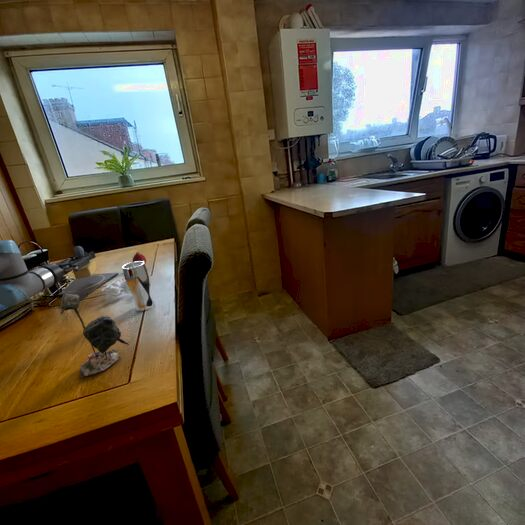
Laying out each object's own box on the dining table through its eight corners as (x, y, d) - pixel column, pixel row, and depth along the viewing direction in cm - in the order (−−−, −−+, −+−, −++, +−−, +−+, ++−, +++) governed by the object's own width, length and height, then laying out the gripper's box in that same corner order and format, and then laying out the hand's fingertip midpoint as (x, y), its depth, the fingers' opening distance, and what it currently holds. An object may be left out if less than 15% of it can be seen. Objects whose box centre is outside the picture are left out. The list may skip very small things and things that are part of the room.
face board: (42, 297, 110) (41, 295, 110) (78, 276, 129) (78, 274, 128) (88, 294, 108) (87, 292, 107) (118, 274, 126) (117, 272, 126)
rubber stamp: (82, 271, 120) (72, 244, 116) (97, 268, 121) (88, 242, 117) (75, 279, 111) (64, 250, 107) (91, 276, 112) (81, 247, 108)
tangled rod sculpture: (119, 282, 120) (115, 273, 118) (152, 274, 120) (149, 266, 119) (98, 302, 101) (93, 292, 100) (137, 293, 102) (133, 283, 100)
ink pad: (61, 303, 103) (60, 299, 102) (71, 296, 107) (70, 293, 107) (78, 302, 102) (77, 298, 101) (87, 295, 107) (86, 292, 106)
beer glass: (131, 307, 93) (118, 266, 87) (151, 299, 97) (139, 259, 92) (139, 314, 88) (125, 270, 83) (160, 305, 92) (148, 263, 87)
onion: (142, 270, 127) (137, 254, 124) (132, 270, 129) (127, 254, 126) (150, 265, 132) (146, 249, 129) (141, 265, 134) (136, 249, 131)
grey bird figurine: (131, 363, 65) (105, 287, 58) (76, 382, 61) (41, 302, 54) (131, 345, 72) (108, 275, 65) (82, 360, 68) (52, 287, 62)
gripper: (30, 287, 99) (77, 264, 121) (69, 285, 97) (110, 261, 119) (21, 268, 97) (71, 247, 119) (61, 265, 95) (104, 244, 117)
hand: (90, 254), depth 119 cm, fingers closed on rubber stamp, 2 cm apart
